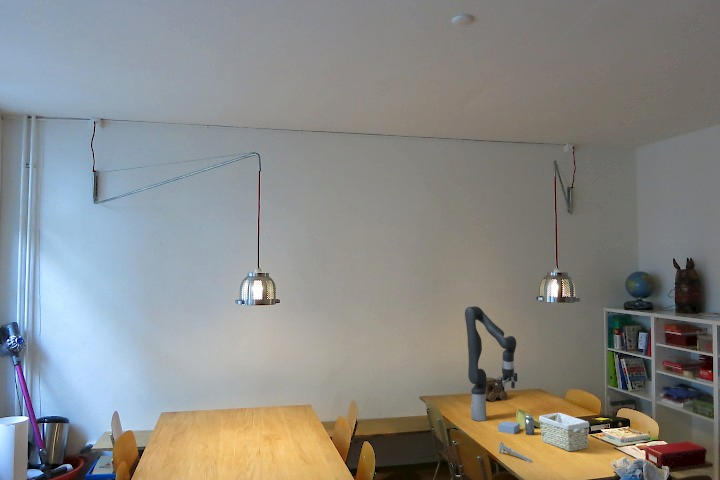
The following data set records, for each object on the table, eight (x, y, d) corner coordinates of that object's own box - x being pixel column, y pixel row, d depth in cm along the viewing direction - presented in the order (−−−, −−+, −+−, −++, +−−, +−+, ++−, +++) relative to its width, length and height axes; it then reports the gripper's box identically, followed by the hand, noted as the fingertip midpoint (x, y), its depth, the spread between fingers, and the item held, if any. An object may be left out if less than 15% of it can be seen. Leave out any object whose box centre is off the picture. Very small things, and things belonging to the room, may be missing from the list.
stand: (498, 431, 329) (498, 424, 330) (504, 427, 337) (504, 421, 338) (514, 434, 324) (513, 427, 324) (519, 429, 332) (519, 423, 332)
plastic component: (543, 424, 334) (529, 418, 333) (538, 435, 334) (525, 429, 333) (529, 413, 354) (516, 408, 353) (524, 424, 354) (511, 418, 352)
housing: (524, 434, 322) (523, 415, 323) (527, 432, 326) (526, 414, 327) (532, 435, 319) (531, 417, 320) (535, 433, 323) (534, 415, 324)
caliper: (498, 453, 291) (498, 441, 291) (500, 453, 292) (499, 441, 292) (531, 463, 275) (531, 450, 276) (533, 462, 276) (532, 450, 276)
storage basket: (538, 441, 310) (537, 415, 311) (560, 437, 316) (559, 411, 317) (569, 453, 288) (567, 425, 289) (591, 448, 294) (590, 421, 295)
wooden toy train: (487, 402, 401) (486, 380, 402) (478, 399, 411) (477, 378, 412) (509, 399, 408) (508, 378, 409) (500, 396, 419) (499, 375, 420)
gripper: (512, 362, 352) (511, 384, 355) (495, 366, 345) (495, 390, 348) (520, 366, 345) (520, 389, 348) (503, 371, 339) (503, 394, 342)
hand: (507, 389), depth 348 cm, fingers open, 8 cm apart
